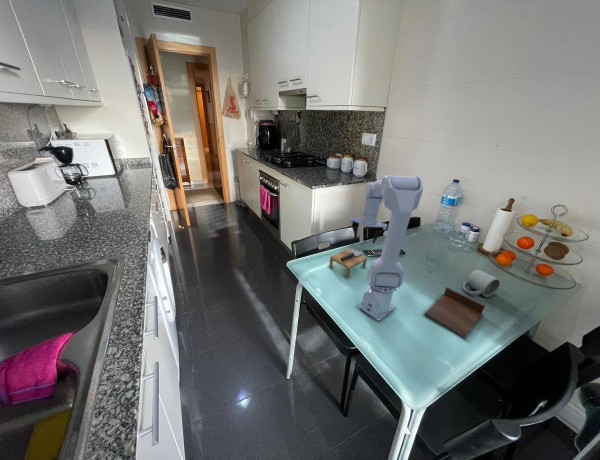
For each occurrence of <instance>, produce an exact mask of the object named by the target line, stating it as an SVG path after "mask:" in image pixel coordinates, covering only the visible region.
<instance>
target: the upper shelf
mask: <svg viewBox="0 0 600 460" xmlns="http://www.w3.org/2000/svg"><path fill="white" fill-rule="evenodd" d="M353 250H354V249H351V248H349V247H348V248H346V249H343V250H342V251H339V252H338V253H335V254H333V255H330V257H329V264H328V267H329V268H333V265H334V262H335V263H337V264H338V265H341V266H342V267H343V268H345V269H346V273H345V278H346V279H347V278H348V279H349V278H350V274H351V269H352V268H355V267H356V266H358V265H360V264H362V266H361V267H362V269H366V266H367V261H368V257H367V256H365V255H363V254H362V255H360V256H358V257H355V256H352V257H350V258H348V259H346V260H344V261H342V260H341V257H343V256H345V255H347V254H349V252H351V251H353Z"/></svg>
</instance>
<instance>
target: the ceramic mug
mask: <svg viewBox="0 0 600 460" xmlns="http://www.w3.org/2000/svg"><path fill="white" fill-rule="evenodd" d="M500 284H501V281H500V279H499V278H497V277H495V276H494V275H490V274H489V273H488V272H487V273H486V272H485V271H483V270H480V269H474V270H472V271H470V272H469V273H468V275H467V276H466V278H465V282H464V283H463V285H462V289H463V291H464V292H465V293H466V294H467V295H469V296H477V295H482V296H484V297H485V298H488V297H491V296H493V295H494V294H495V293H496V292H497V291H498V290H499V287H500ZM466 286H469V287H470V288H472V289H473V290H474V291H471V290H468V289H467V288H466Z"/></svg>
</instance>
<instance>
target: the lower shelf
mask: <svg viewBox="0 0 600 460" xmlns="http://www.w3.org/2000/svg"><path fill="white" fill-rule="evenodd" d="M485 307H486V304H484V303H482V302H480V301H477V300H476V299H474V298H471V297H469V296H467V295H465V294H463V293H461V292H459V291H457V290H454V289H452V288H451V287H448V286H446V288H445V290H444V292H443V294H442V295H441V296H440V297H439V298H438V299H437V300H436V302H434V304H433V305H431V306H430V308H428V310H426V312H425V313H424V316H425V317H426V318H428V319H430V320H431V321H433V322H435V323H437V324H438V325H440V326H442V327H443V328H446V329H447V330H449V331H451V332H452V333H454V334H455V335H457V336H459V337H461V338H463V339H464V340H465V339H466V337H467V336H468V335H469V333H470V331H471V330H472V329H473V328H474V325H476V323H477V321H478V320H479V318H480V317H481V315H482V313H483V312H484V309H485Z"/></svg>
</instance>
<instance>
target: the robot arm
mask: <svg viewBox="0 0 600 460" xmlns="http://www.w3.org/2000/svg"><path fill="white" fill-rule="evenodd" d="M423 192H424V186H423V181H422V178H421V177H420V176H418V175H417V176H406V175H405V176H403V175H389V174H386V175H384V176H383V177H379V178H378V180H375V182H369V181H368V182H367V183H366V185H365V191H364V194H365V199H364V200H365V201H364V205H363V211H362V216H361V217H357V216H350V219H349V223H350V224H351V228H352V231H353V236H354V240H357V238H358V231H359V228H360V227H359V226H360V225H361V226H364V227H367V228H368V227H369V228H376V229H375V232H374V236H373V239H372V244H375V243H376V240H377V239H378V237H379V236H381V235H382V233H383V231H386V233H385V237H384V242H383V245H382V249H381V253H380V256H379V257H378V258H376V259H373V260H372V261H371V263H370V265H369V267H368V269H367V272H366V280H367V282H368V285H369V288H368V289H367V290H366V291H365V292H364V293H363V296H362V301H361V304H360V305H358V308H359V310H361V311H363V312H364V313H366V314H367V315H369V316H370V317H372V318H373V319H375V320H376V321H378V322H379V321H381V320H382V319H384V318H385V317H386V316H387V315H389V313H391V312H392V311H393V310H394V309H395V306H393V305H392V304H391V303H392V300H393V295H394V292H396V291H397V289H399V288H400V287H402V285H403V282H404V273H405V269H404V268H403V265H402V264H401V263H400V262H399V261H398V260H399V257H400V253H401V250H402V246H403V243H404V240H405V236H406V233H407V229H408V227H409V222H410V220H411V216H412V212H414V210H417V209H418V207H419V205H420V201H421V198H422V195H423ZM382 203H383V206H384V208H386V209H387V210H389V211H390V213H391V214H390V218H389V222H388V224H387V223H384V222H381V221H379V220H377V219H378V215H379V211H380V206H381V204H382Z"/></svg>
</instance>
